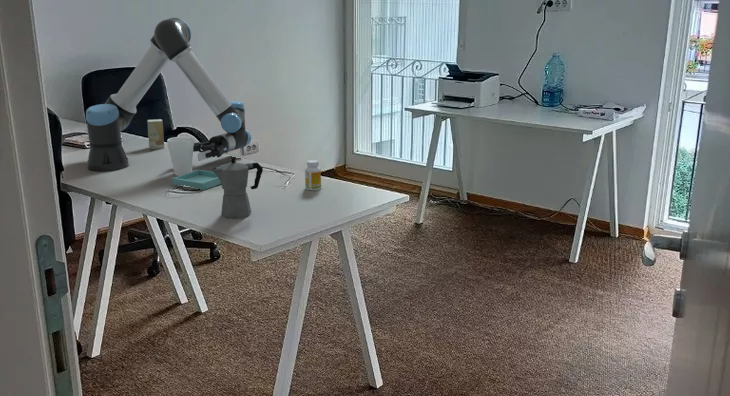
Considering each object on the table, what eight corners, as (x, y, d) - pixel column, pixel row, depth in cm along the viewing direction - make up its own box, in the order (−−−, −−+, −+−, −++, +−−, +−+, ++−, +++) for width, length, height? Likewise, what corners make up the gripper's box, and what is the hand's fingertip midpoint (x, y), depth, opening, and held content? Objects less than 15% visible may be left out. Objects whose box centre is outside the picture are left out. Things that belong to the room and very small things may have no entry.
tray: (172, 185, 241) (171, 178, 240) (199, 175, 252) (199, 169, 252) (203, 190, 234) (202, 183, 233) (229, 180, 246) (229, 174, 245)
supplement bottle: (323, 187, 238) (323, 160, 235) (317, 191, 233) (316, 163, 230) (309, 185, 240) (308, 158, 237) (303, 189, 235) (302, 162, 232)
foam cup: (199, 170, 260) (197, 137, 256) (191, 176, 251) (188, 142, 247) (175, 169, 261) (172, 136, 257) (166, 176, 252) (163, 141, 248)
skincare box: (149, 149, 294) (147, 121, 290) (149, 147, 298) (146, 119, 294) (165, 148, 296) (162, 120, 292) (164, 146, 300) (161, 118, 296)
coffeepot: (217, 221, 203) (213, 162, 198) (212, 212, 212) (208, 155, 206) (268, 215, 209) (265, 157, 203) (261, 206, 217) (258, 151, 212)
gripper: (247, 156, 268) (211, 169, 250) (197, 150, 279) (160, 161, 261) (246, 138, 266) (209, 148, 248) (196, 132, 277) (158, 142, 259)
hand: (184, 155), depth 254 cm, fingers open, 13 cm apart
